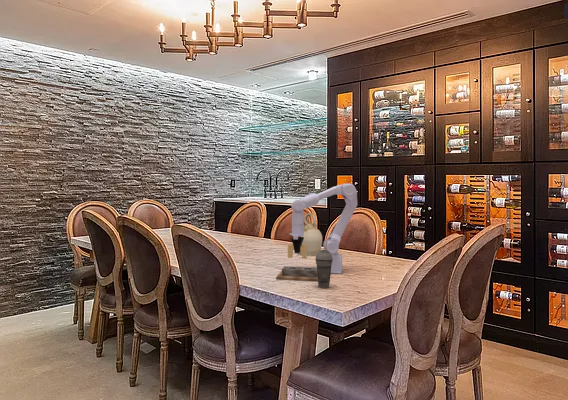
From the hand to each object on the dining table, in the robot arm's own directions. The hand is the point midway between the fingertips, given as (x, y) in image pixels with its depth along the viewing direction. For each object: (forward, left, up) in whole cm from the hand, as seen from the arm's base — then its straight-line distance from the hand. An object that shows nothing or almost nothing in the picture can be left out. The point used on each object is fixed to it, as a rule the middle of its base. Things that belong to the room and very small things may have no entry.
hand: (297, 252), depth 208 cm
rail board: (-3, +12, -9) cm, 15 cm away
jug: (0, -53, -10) cm, 54 cm away
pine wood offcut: (0, 0, -2) cm, 3 cm away
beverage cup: (-15, +28, -10) cm, 33 cm away
